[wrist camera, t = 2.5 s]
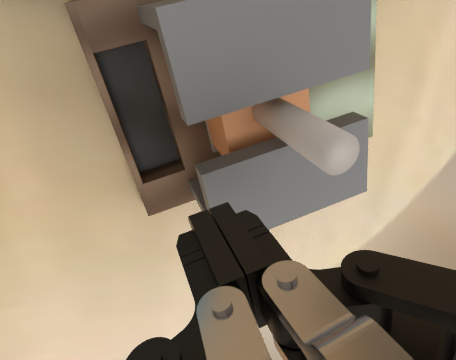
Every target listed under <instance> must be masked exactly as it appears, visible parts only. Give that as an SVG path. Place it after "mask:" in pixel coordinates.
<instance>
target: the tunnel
mask: <svg viewBox="0 0 456 360" xmlns="http://www.w3.org/2000/svg"><path fill="white" fill-rule="evenodd" d="M137 9H138V13H139V16H140V20H141V23H142V24H144V25H146V26H149V27H151V28H153V29H155V30H157V32H158V35H159V39H160V43H161V46H162V50H163V53H164V57H165V60H166V64H167V68H168V71H169V75H170V78H171V82H172V86H173V89H174V93H175V96H176V100H177V104H178V107H179V111H180V114H181V118H182V119H183V120H184V122H185V123H186V124H187V126H189V125H192V124H196V123H199V122H202V121H205V120H208V119H212V118H215V117H218V116H221V115H224V114H228V113H231V112H234V111H237V110H240V109H244V108H247V107H250V106H253V105H256V104H260V103H263V102H266V101H269V100H273V99H276V98H279V97H282V96H285V95H289V94H292V93H295V92H298V91H301V90H305V89H308V88H311V87H314V86H317V85H321V84H324V83H327V82H330V81H334V80H337V79H340V78H343V77H346V76H350V75H353V74H356V73H359V72H362V71H366V70H369V69H370V38H371V0H161V1H157V2H153V3H148V4H144V5H140V6H137ZM368 119H369V118H367V117H365V116H363V115H360V114H358V113H355V112H350V113H347V114H344V115H341V116H338V117H335V118H332V119H329V120H326V121H327V122H329V123H331V124H333V125H335V126H337V127H339V128H341V129H343V130H345V131H346V132H348V133H350V134H352V135H354V136H355V137H356V138H357V139H358V142H359V146H360V149H359V154H358V157H357V159H356V161H355V163H354V164H353V165H352V167H351V168H350V169H348V170H347V171H346V172H344V173H342V174H339V175H329V174H327V173H325V172H324V171H323V170H321V169H320V168H319V167H317V166H316V165H315V164H313V163H312V162H310V161H309V160H308V159H306V158H305V157H304V156H302V155H301V154H300V153H298V152H297V151H296V150H294V149H293V148H292V147H290V146H289V145H287V144H286V143H285V142H283V141H282V140H281V139H279V138H278V137H276V138H273V139H270V140H267V141H264V142H261V143H258V144H255V145H252V146H249V147H246V148H243V149H240V150H237V151H234V152H231V153H228V154H225V155H222V156H219V157H216V158H213V159H210V160H207V161H204V162H201V163H198V164H195V168H196V172H197V175H198V177H196V178H194V179H191V180H188V181H189V184H190V188H191V191H192V193H193V195H194V197H195V198H196V200H197V202H198V204H199V206H200V208H201V210H202V211H205V210H208V211H209V209H210V208H212V207H215V206H218V205H221V204H223V203H226V202H228V203H229V204H230V206H231V207H232V209H233V210H234V211H235V213H239V212H242V211H244V210H247V211H249V212H251V213H253V214H255V215H257V216H258V217H259V218H260V220H261V221H262V222H263V224H264V226H266V227H267V229H268V230H269V229H271V228H274V227H276V226H279V225H281V224H284V223H286V222H289V221H292V220H294V219H297V218H299V217H302V216H304V215H307V214H309V213H312V212H315V211H317V210H320V209H322V208H325V207H327V206H330V205H332V204H335V203H337V202H340V201H343V200H345V199H348V198H350V197H353V196H355V195H358V194H360V193H363V192H366V191H367V159H368Z"/></svg>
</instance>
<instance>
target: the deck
mask: <svg viewBox="0 0 456 360" xmlns="http://www.w3.org/2000/svg"><path fill="white" fill-rule="evenodd" d="M157 1H161V0H76V1H71V2H67V3H65V6H66V8H67V11H68V13H69V16H70V18H71V21H72V23H73V26H74V28H75V31H76V34H77V36H78V39H79V41H80V44H81V46H82V49H83V51H84V54H85V56H86V59H87V61H88V64H89V66H90V69H91V71H92V74H93V77H94V79H95V82H96V84H97V87H98V89H99V92H100V94H101V97H102V99H103V102H104V104H105V107H106V109H107V112H108V115H109V117H110V120H111V122H112V125H113V127H114V130H115V132H116V135H117V137H118V140H119V142H120V145H121V147H122V150H123V153H124V155H125V158H126V160H127V163H128V165H129V168H130V170H131V173H132V175H133V178H134V180H135V183H136V185H137V188H138V191H139V193H140V196H141V198H142V201H143V203H144V206H145V208H146V211H147V213H148V216H151V215H153V214H156V213H159V212H162V211H165V210H167V209H170V208H173V207H176V206H179V205H181V204H184V203H187V202H190V201H193V200H195V199H196V198H195V197H194V195H193V193H192V191H191V188H190V184H189V181H188V180H191V179H194V178H196V177H198V175H197V172H196V168H195V164H198V163H201V162H204V161H207V160H210V159H213V158H216V157H219V156H222V155H221V154H220V153H219V151H217V152H213V151H212V147H211V143H210V139H209V135H208V130H207V126H206V122H205V121H202V122H199V123H196V124H192V125H189V126H187V124H186V123H185V122H184V120H183V119H182V118H181V114H180V111H179V107H178V104H177V100H176V96H175V93H174V89H173V86H172V82H171V78H170V75H169V71H168V68H167V64H166V60H165V57H164V53H163V50H162V46H161V43H160V39H159V35H158V32H157V30H155V29H153V28H151V27H149V26H146V25H144V24H142V23H141V20H140V16H139V13H138V9H137V6H140V5H144V4H148V3H153V2H157ZM376 10H377V0H371V38H370V69H369V70H366V71H362V72H359V73H356V74H353V75H350V76H346V77H343V78H340V79H337V80H334V81H330V82H327V83H324V84H321V85H317V86H314V87H311V88H309V102H310V113H311V114H313V115H315V116H317V117H319V118H321V119H323V120H325V121H326V120H329V119H332V118H335V117H338V116H341V115H344V114H347V113H350V112H355V113H358V114H360V115H363V116H365V117H367V118H369V119H368V138H369V137H372V135H373V104H374V72H375V41H376Z"/></svg>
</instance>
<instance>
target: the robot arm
mask: <svg viewBox="0 0 456 360" xmlns="http://www.w3.org/2000/svg"><path fill="white" fill-rule="evenodd" d="M188 218H189V222H190V225H191V228H192V230H191V231H189V232H186V233H183V234H181V235H179V237H178V241H177V245H176V247H177V250H178V253H179V256H180V259H181V262H182V265H183V268H184V271H185V274H186V276H187V279H188V282H189V285H190V288H191V291H192V294H193V297H194V300H195V312H194V315H193V317H192V320H191V321H190V323H189V324H188V325H187V326H186V328H185V329H183V330H182V331H181V332H180V333H179V334H178V335H176V336H175V337H174V338H173V339H171V340H170V339H168V338H164V337H155V338H151V339H148V340H146V341H144V342H142V343H141V344H140V345H138V346H137V347H136V348H135V349H134V350H133V351H132V352H131V353H130V355H129V356H128V358H127V359H126V360H272V359H271V357H270V355H269V352H268V350H267V347H266V345H265V343H264V341H263V338H262V335H261V333H260V331H259V328H261V327H263V326H265V325H268V327H269V329H270V331H271V333H272V334H273V339H274V344H275V347H276V348H277V350H278V352H279V354H280V355H281V357H282V358H283V360H456V270H452V269H447V268H444V267H439V266H435V265H431V264H426V263H422V262H418V261H414V260H410V259H405V258H401V257H397V256H392V255H388V254H384V253H380V252H376V251H371V250H359V251H354V252H352V253H350V254H348V255H347V256H345V258H344V259H343V260H342V263H341V267H338V268H330V269H322V270H313V269H308V268H307V267H306V266H305V265H303V264H301V263H299V262H296V261H293V260H292V259H291V258H290V257H289V256H288V254H287V253H286V252H285V251H284V249H283V248H282V247H281V245H280V244H279V243H278V242H277V240H276V239H275V238H274V236H273V235H272V234H271V233H270V232H269V230H268V229H267V227H266V226H264V224H263V222H262V221H261V220H260V218H259V217H258V216H257V215H255V214H253V213H251V212H249V211H247V210H244V211H242V212H239V213H235V211H234V210H233V209H232V207H231V206H230V204H229V203H228V202H226V203H223V204H221V205H218V206H215V207H212V208H210V209H209V211H208V210H205V211H202V212H199V213H196V214H194V215H191V216H188ZM258 327H259V328H258Z"/></svg>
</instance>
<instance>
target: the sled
mask: <svg viewBox="0 0 456 360" xmlns="http://www.w3.org/2000/svg"><path fill="white" fill-rule="evenodd" d="M205 122H206V126H207V130H208V135H209V139H210V143H211V147H212V151H213V152H217V151H219V153H220V154H221V155H225V154H228V153H231V152H234V151H237V150H240V149H243V148H246V147H249V146H252V145H255V144H258V143H261V142H264V141H267V140H270V139H273V138H276V137H278V138H279V139H281V140H282V141H283V142H285V143H286V144H287V145H289V146H290V147H292V148H293V149H294V150H296V151H297V152H298V153H300V154H301V155H302V156H304V157H305V158H306V159H308V160H309V161H310V162H312V163H313V164H315V165H316V166H317V167H319V168H320V169H321V170H323V171H324V172H325V173H327V174H329V175H339V174H342V173H344V172H346V171H347V170H348V169H350V168H351V167H352V165H353V164H354V163H355V161H356V159H357V157H358V154H359V149H360V146H359V142H358V139H357V138H356V137H355V136H354V135H352V134H350V133H348V132H346V131H345V130H343V129H341V128H339V127H337V126H335V125H333V124H331V123H329V122H327V121H325V120H323V119H321V118H319V117H317V116H315V115H313V114H311V113H310V102H309V88H308V89H305V90H301V91H298V92H295V93H292V94H289V95H285V96H282V97H279V98H276V99H273V100H269V101H266V102H263V103H260V104H256V105H253V106H250V107H247V108H244V109H240V110H237V111H234V112H231V113H228V114H224V115H221V116H218V117H215V118H212V119H208V120H205Z"/></svg>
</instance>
